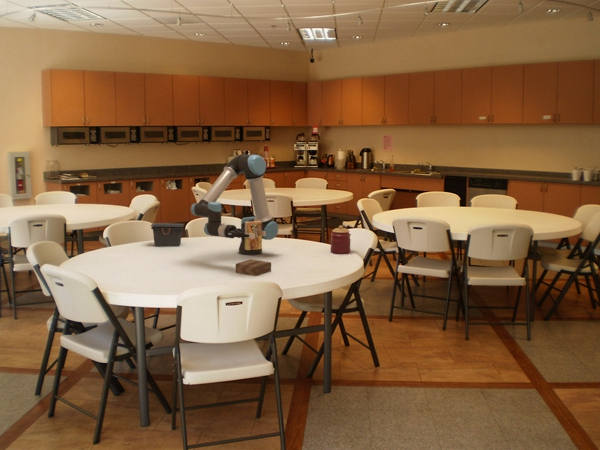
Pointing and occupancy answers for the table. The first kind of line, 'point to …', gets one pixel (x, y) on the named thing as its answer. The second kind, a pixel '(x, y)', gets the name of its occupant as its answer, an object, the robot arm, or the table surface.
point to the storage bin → (167, 234)
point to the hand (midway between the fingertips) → (259, 235)
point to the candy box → (255, 229)
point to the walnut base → (253, 267)
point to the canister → (340, 241)
